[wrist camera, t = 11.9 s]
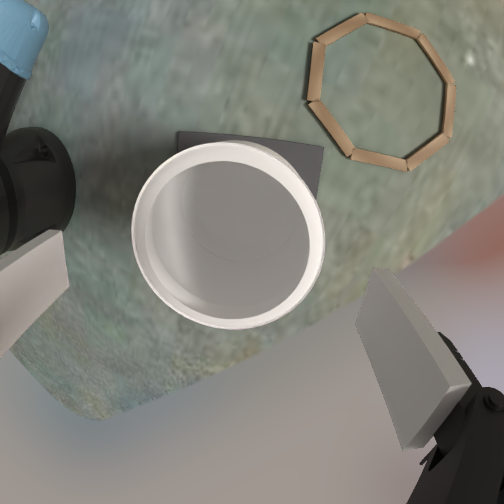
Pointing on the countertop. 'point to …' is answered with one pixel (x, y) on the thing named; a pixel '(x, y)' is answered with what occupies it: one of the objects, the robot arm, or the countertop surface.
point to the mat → (297, 154)
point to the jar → (228, 234)
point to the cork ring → (334, 127)
